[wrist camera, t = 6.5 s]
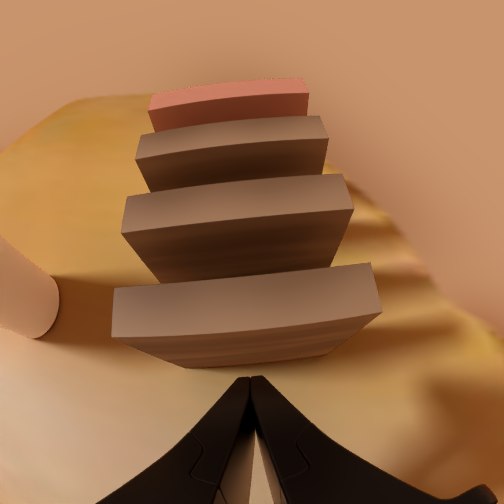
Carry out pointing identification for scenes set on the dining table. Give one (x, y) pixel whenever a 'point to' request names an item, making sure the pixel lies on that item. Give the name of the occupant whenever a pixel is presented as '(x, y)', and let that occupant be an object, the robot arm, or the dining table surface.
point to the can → (25, 294)
